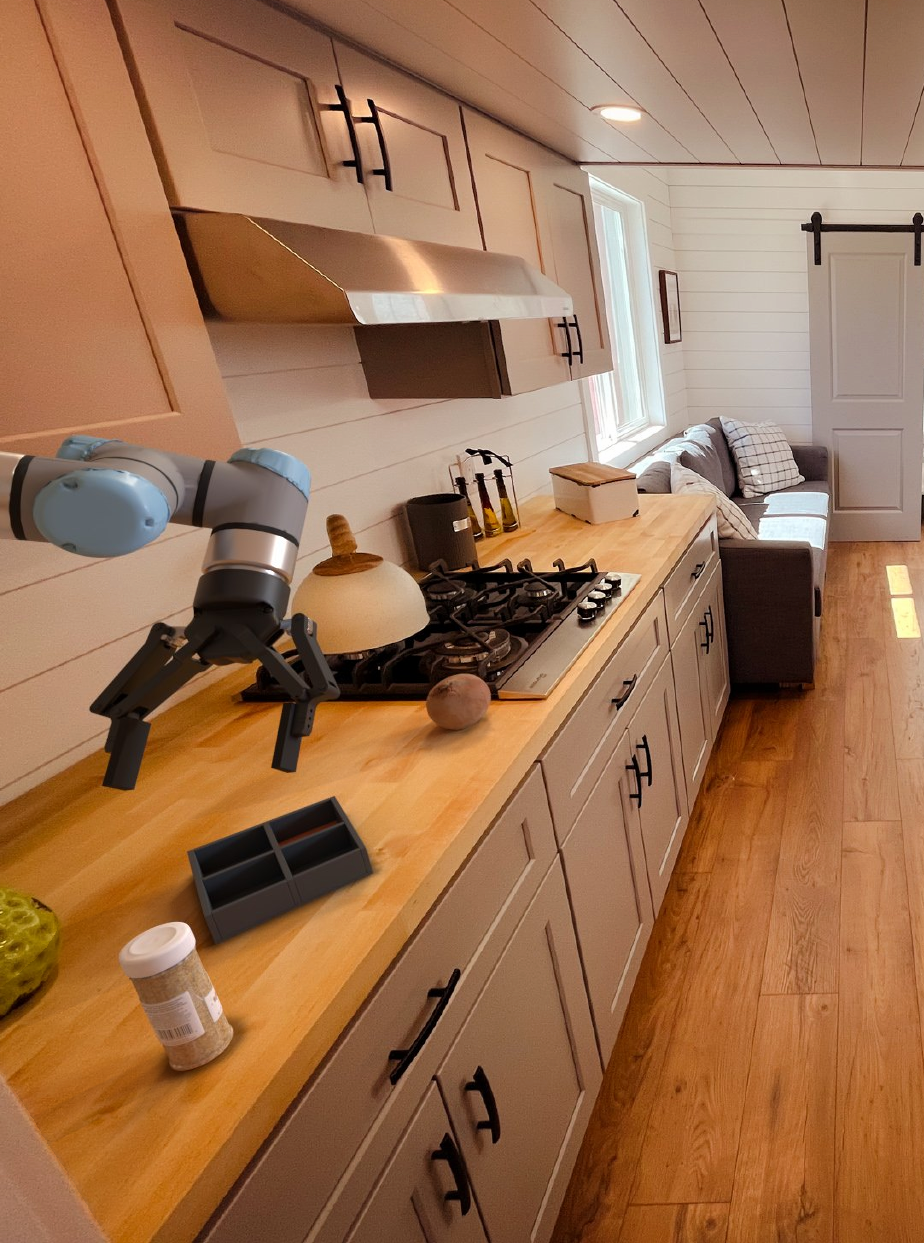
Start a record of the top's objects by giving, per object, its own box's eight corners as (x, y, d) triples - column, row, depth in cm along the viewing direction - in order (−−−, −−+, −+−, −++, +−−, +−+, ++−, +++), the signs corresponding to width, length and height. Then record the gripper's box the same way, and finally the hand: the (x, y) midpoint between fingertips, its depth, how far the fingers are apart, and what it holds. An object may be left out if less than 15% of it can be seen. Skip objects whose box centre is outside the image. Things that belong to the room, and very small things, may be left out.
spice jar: (247, 1027, 68) (203, 919, 63) (204, 1074, 64) (154, 962, 59) (200, 1026, 68) (153, 918, 64) (154, 1073, 64) (100, 961, 59)
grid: (215, 945, 77) (204, 917, 76) (197, 877, 86) (186, 851, 85) (373, 873, 87) (366, 847, 86) (342, 819, 97) (334, 795, 95)
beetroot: (455, 751, 118) (421, 718, 110) (438, 716, 123) (405, 682, 116) (509, 717, 121) (480, 683, 114) (491, 685, 127) (462, 650, 119)
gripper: (391, 587, 82) (366, 769, 74) (137, 603, 77) (79, 801, 69) (359, 557, 76) (328, 755, 67) (78, 573, 71) (7, 789, 62)
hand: (202, 779), depth 68 cm, fingers open, 13 cm apart
